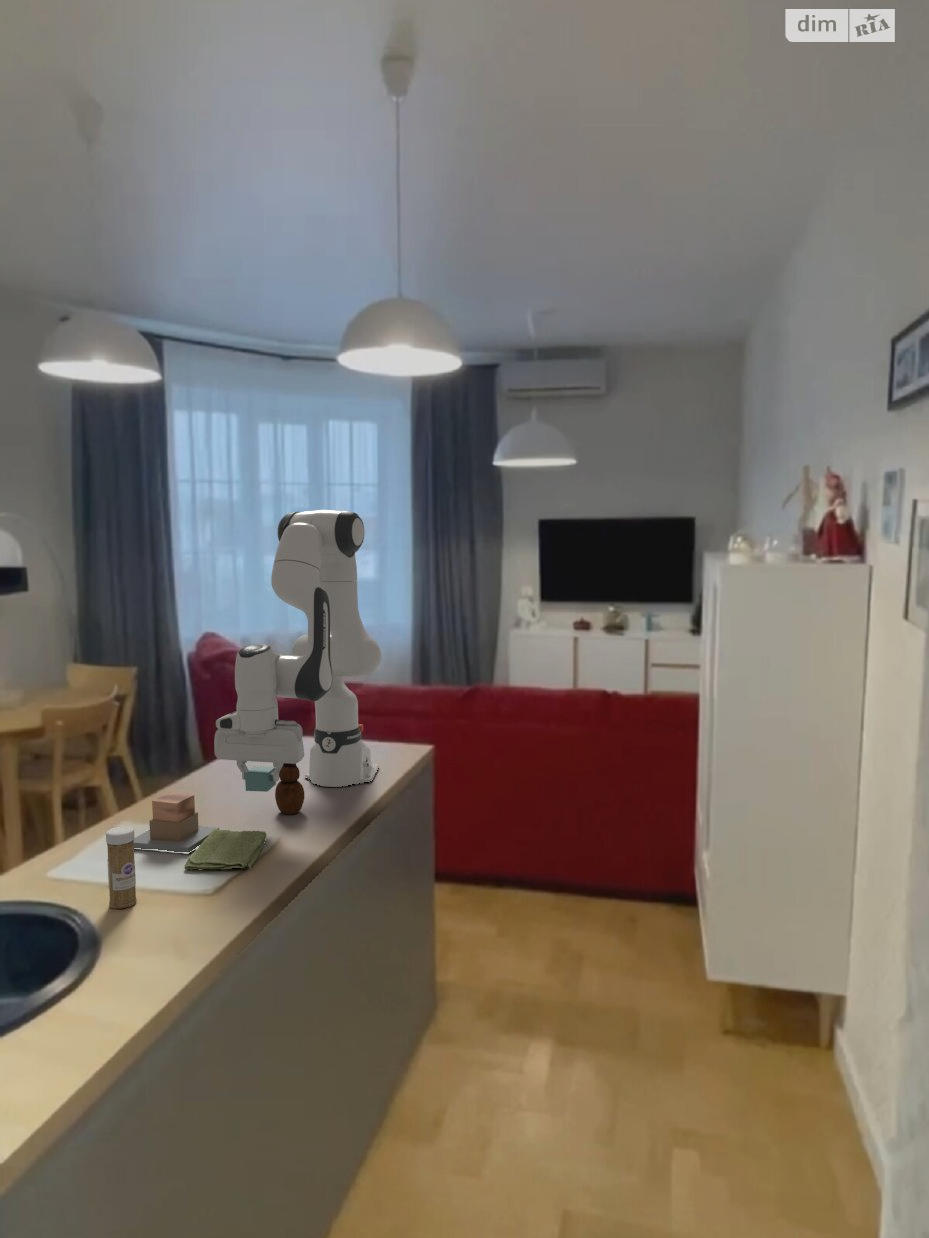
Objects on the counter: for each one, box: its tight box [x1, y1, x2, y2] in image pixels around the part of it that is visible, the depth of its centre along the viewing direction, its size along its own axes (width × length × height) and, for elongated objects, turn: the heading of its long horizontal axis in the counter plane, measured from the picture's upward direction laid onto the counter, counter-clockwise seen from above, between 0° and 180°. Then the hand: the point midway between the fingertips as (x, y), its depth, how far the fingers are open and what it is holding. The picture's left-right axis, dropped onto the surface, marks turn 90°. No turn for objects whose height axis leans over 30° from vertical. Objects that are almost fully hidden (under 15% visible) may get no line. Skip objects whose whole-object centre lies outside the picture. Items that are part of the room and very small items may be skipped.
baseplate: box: [133, 811, 220, 852], centre depth 175 cm, size 12×14×6 cm
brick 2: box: [244, 765, 277, 792], centre depth 183 cm, size 5×5×4 cm
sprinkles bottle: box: [105, 825, 138, 910], centre depth 144 cm, size 5×5×14 cm
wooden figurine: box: [274, 763, 305, 815], centre depth 193 cm, size 7×6×15 cm
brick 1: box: [151, 792, 196, 822], centre depth 174 cm, size 6×6×4 cm
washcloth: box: [183, 829, 267, 870], centre depth 167 cm, size 13×18×3 cm
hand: (260, 780), depth 183 cm, fingers closed on brick 2, 5 cm apart
